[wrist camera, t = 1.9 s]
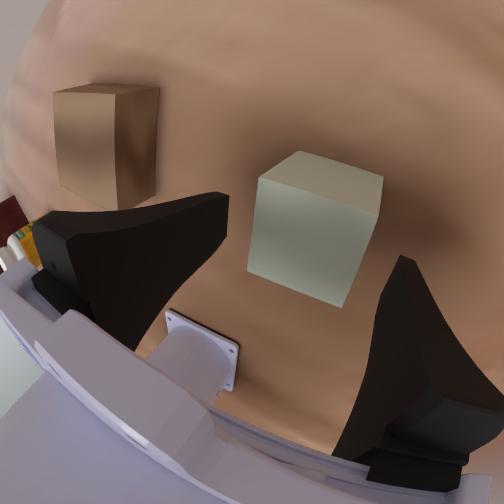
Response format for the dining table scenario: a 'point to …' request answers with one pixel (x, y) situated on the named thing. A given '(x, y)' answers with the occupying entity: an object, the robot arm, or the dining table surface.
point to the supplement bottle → (20, 248)
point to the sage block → (313, 225)
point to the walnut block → (107, 143)
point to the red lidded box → (10, 221)
